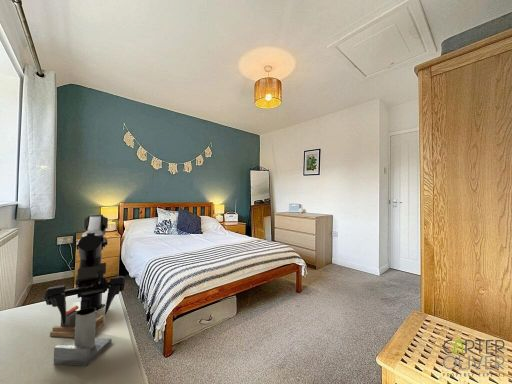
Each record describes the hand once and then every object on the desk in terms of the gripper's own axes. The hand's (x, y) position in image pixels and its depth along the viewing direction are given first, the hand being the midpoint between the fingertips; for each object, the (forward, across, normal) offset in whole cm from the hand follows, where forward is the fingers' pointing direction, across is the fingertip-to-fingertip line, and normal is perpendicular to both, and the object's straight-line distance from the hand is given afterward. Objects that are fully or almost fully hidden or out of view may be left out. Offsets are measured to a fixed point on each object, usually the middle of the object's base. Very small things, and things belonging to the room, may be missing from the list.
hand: (85, 319), depth 61 cm
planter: (+6, 0, +6) cm, 8 cm away
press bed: (+6, 0, +7) cm, 9 cm away
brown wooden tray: (-3, -3, +17) cm, 17 cm away
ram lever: (-5, -5, +17) cm, 18 cm away
